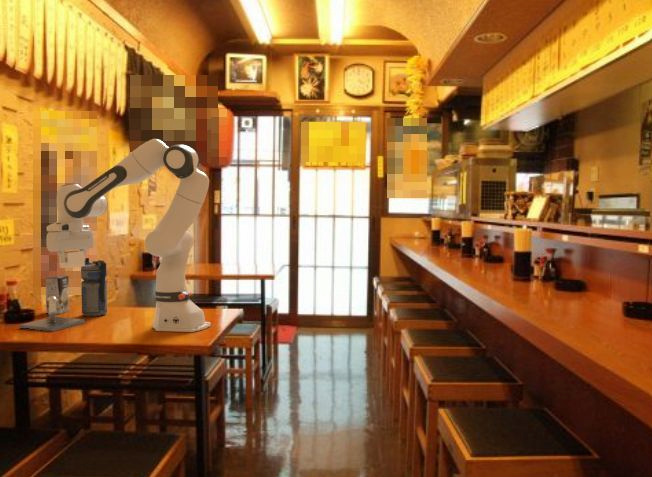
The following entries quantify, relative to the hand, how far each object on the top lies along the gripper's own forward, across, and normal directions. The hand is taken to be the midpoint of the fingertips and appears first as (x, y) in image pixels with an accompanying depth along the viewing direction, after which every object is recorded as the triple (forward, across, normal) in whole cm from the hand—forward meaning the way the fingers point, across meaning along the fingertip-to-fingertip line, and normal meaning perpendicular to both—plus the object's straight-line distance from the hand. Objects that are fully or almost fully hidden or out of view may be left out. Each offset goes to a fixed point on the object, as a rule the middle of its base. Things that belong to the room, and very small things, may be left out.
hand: (72, 261), depth 193 cm
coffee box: (+25, -21, -31) cm, 45 cm away
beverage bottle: (+26, -22, -10) cm, 35 cm away
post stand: (+26, 0, -11) cm, 28 cm away
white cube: (+2, 0, 0) cm, 2 cm away
